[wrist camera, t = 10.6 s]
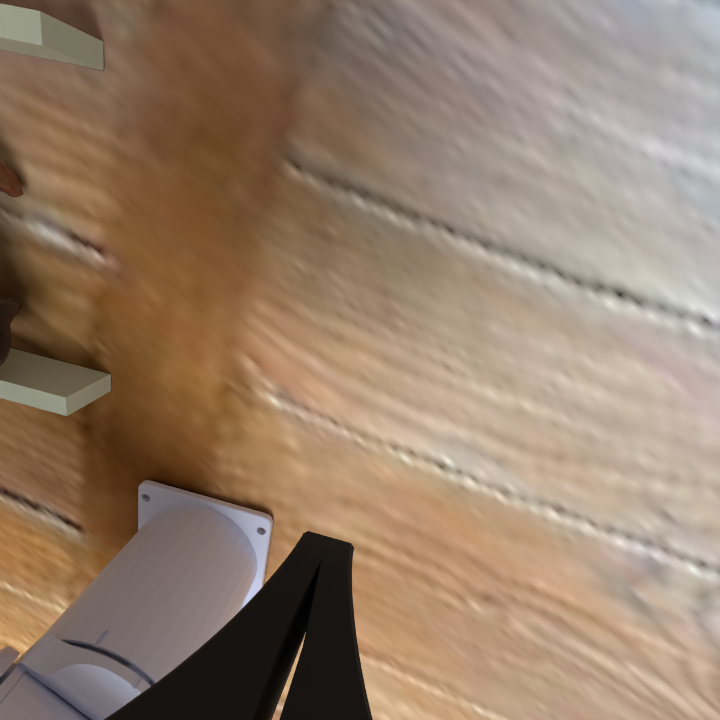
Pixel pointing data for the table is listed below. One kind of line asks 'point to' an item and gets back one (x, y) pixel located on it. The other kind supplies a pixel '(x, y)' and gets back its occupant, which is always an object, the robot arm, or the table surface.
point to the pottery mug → (7, 308)
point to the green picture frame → (21, 369)
